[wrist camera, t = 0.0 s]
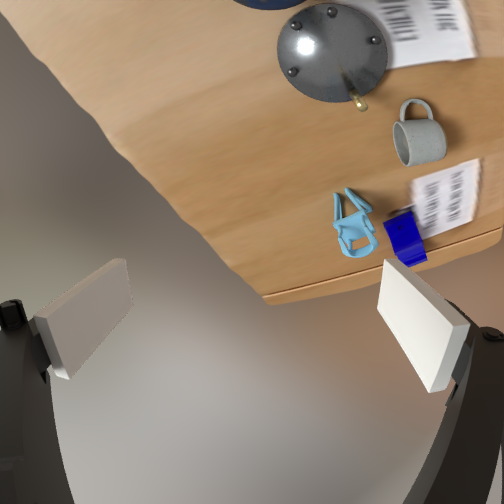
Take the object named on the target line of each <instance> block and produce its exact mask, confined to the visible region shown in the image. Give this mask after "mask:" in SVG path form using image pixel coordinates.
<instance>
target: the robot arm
mask: <svg viewBox="0 0 504 504" xmlns="http://www.w3.org/2000/svg"><path fill="white" fill-rule="evenodd" d="M133 306H134V304H133V299H132V294H131V289H130V283H129V278H128V271H127V265H126V259H113V260H111V261H110V262H108V263H107V264H105V265H104V266H102V267H101V268H99V269H98V270H96V271H95V272H93V273H92V274H90V275H89V276H87V277H86V278H84V279H83V280H81V281H80V282H79V283H77V284H76V285H74V286H73V287H71V288H70V289H69V290H67V291H66V292H64V293H63V294H62V295H60V296H59V297H57V298H56V299H55V300H54V301H52V302H51V303H49V304H48V305H47V306H45V307H44V308H42V309H41V310H40V311H38V312H37V313H36V314H34V316H33V318H32V319H31V320H30V321H28V320H27V317H26V314H25V311H24V308H23V304H22V301H21V300H17V299H14V300H9V301H6V302H3V303H1V304H0V326H1V331H0V504H74V500H73V497H72V494H71V491H70V488H69V484H68V481H67V477H66V473H65V469H64V465H63V461H62V456H61V452H60V447H59V443H58V437H57V431H56V425H55V419H54V412H53V404H52V395H51V386H50V376H49V373H48V371H47V368H48V367H49V365H51V364H52V367H53V369H54V371H55V374H56V375H57V376H59V377H63V378H65V379H68V380H70V379H71V378H72V377H73V376H74V374H75V373H76V372H77V371H78V370H79V368H80V367H81V366H82V365H83V364H84V362H85V361H86V360H87V359H88V358H89V357H90V355H91V354H92V353H93V352H94V351H95V350H96V348H97V347H98V346H99V345H100V344H101V342H102V341H103V340H104V339H105V338H106V337H107V336H108V335H109V334H110V332H111V331H112V330H113V329H114V328H115V327H116V326H117V324H118V323H119V322H120V321H121V320H122V319H123V318H124V317H125V316H126V314H127V313H128V312H129V311H130V310H131V309H132V308H133ZM377 309H378V311H379V312H380V314H381V315H382V317H383V318H384V320H385V321H386V323H387V325H388V326H389V328H390V329H391V331H392V332H393V334H394V335H395V337H396V339H397V340H398V342H399V344H400V345H401V347H402V348H403V350H404V352H405V353H406V355H407V357H408V358H409V360H410V362H411V363H412V365H413V367H414V368H415V370H416V372H417V373H418V375H419V377H420V378H421V380H422V382H423V384H424V385H425V387H426V389H427V391H428V392H429V393H432V392H436V391H440V390H444V389H446V387H447V385H448V383H449V380H450V378H451V376H452V378H453V379H454V380H455V382H456V384H455V386H454V388H453V390H452V392H451V394H450V396H449V398H448V400H447V402H446V404H445V406H447V408H446V411H445V414H444V417H443V420H442V422H441V425H440V428H439V430H438V433H437V435H436V438H435V440H434V443H433V445H432V447H431V449H430V452H429V454H428V456H427V458H426V460H425V463H424V465H423V467H422V469H421V471H420V473H419V475H418V477H417V479H416V481H415V483H414V485H413V486H412V488H411V490H410V492H409V493H408V495H407V497H406V499H405V500H404V502H403V504H486V501H487V498H488V495H489V491H490V488H491V484H492V481H493V477H494V473H495V469H496V465H497V460H498V455H499V450H500V445H501V450H502V501H501V504H504V334H503V333H502V332H501V331H499V330H498V329H495V328H492V327H480V328H479V327H478V326H477V325H476V324H475V323H474V322H473V321H472V320H471V319H470V318H469V317H468V316H467V315H465V313H464V312H462V311H461V310H460V309H459V308H458V307H457V306H456V305H455V304H454V303H452V302H450V301H448V300H446V299H444V298H443V297H441V296H440V295H439V294H438V293H437V292H436V291H435V290H434V289H433V288H431V287H430V286H429V285H428V284H427V283H426V282H425V281H423V280H422V279H421V278H420V277H419V276H418V275H416V274H415V273H414V272H413V271H412V270H411V269H409V268H408V267H407V266H406V265H405V264H403V263H402V262H401V261H400V260H399V259H384V266H383V274H382V281H381V288H380V295H379V302H378V307H377Z"/></svg>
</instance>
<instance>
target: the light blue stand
mask: <svg viewBox="0 0 504 504" xmlns="http://www.w3.org/2000/svg"><path fill="white" fill-rule="evenodd" d="M345 193H346V195H347V196H348V197H349V198H350V200H351V201H352V202H353V203H354V204H355V206H356V207H357V208H358V209H359V211H358V212H356V213H354V214H352V215H350V216H348V217H345V218H342V212H341V202H340V198H339V195H338V194H337V193H334V199H335V221H334V222H333V226H334V227H335V229H336V230H337V231H338V232H339V235H338V240H339V243H340V246H341V249H342V252H343V253H344V254H345V255H347V256H349V257H354V258H360V257H364V256H367V255H369V254H370V253H371V252H373V251H374V250H375V249H376V248H377V247H378V245H379V243H378V241H377V240H376V238H375V237H374V235H373V233H375V229H374V227H373V225H372V223H371V222H370V220H369V218H368V216H367V213H370V212H372V207H371V206H370V205H369V204H368V203H366V202H365V201H364V200H362V199H361V198H360V197H358V196H357V195H356V194H354V193H353V192H352V191H351V190H350V189H349V188H345ZM361 205H362V206H363V207H365V208H366V209H365V210H364V209H363V208H362V206H361ZM364 236H368V238H369V241H370V244H369V245H367V246H365V247H363V248H360V249H356V250H352V242H353V241H355V240H357V239H359V238H362V237H364ZM342 238H343V239H344V241H345V242H346V244H348V247H349V249H348V248H347V247H346V245H345V243H344V241H343V239H342Z"/></svg>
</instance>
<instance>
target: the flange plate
mask: <svg viewBox="0 0 504 504" xmlns="http://www.w3.org/2000/svg"><path fill="white" fill-rule="evenodd" d="M277 55H278V60H279V64H280V67H281V69H282V71H283V73H284V75H285V77H286V78H287V79H288V81H289V82H290V83H291V84H292V85H293V86H294V87H295V88H296V89H297V90H299V91H300V92H302V93H303V94H305V95H307V96H309V97H311V98H314V99H316V100H320V101H324V102H335V103H337V102H346V101H351V100H352V101H353V102H354V104H355V106H356V107H357V109H358V110H359V111H361V112H364V111H366V110H367V109H368V104H367V103H366V101H365V100H364V99H363V97H362V96H363V95H365V94H367V93H368V92H369V91H371V90H372V89H373V88H374V87H375V86H376V85H377V84H378V82H379V81H380V80H381V78H382V76H383V74H384V72H385V69H386V65H387V47H386V43H385V40H384V38H383V36H382V34H381V32H380V30H379V29H378V28H377V26H376V25H375V24H374V23H373V22H372V21H371V20H370V19H369V18H368V17H367V16H365V15H364V14H362V13H360V12H359V11H357V10H355V9H352V8H349V7H346V6H343V5H338V4H317V5H312V6H309V7H306V8H304V9H302V10H300V11H299V12H297V13H296V14H294V15H293V16H292V17H291V18H290V19H289V20H288V21H287V22H286V23H285V25H284V26H283V28H282V30H281V32H280V35H279V38H278V42H277Z"/></svg>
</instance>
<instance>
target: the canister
mask: <svg viewBox="0 0 504 504" xmlns="http://www.w3.org/2000/svg"><path fill="white" fill-rule="evenodd" d="M234 1H236V2H237V3H239V4H242V5H244V6H247V7H250V8H254V9H260V10H281V9H287V8H290V7H294V6H296V5H299V4H301V3H303V2H304V1H306V0H234Z"/></svg>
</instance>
